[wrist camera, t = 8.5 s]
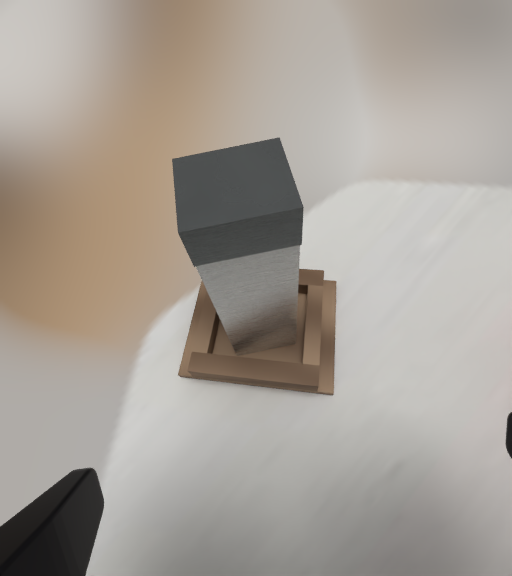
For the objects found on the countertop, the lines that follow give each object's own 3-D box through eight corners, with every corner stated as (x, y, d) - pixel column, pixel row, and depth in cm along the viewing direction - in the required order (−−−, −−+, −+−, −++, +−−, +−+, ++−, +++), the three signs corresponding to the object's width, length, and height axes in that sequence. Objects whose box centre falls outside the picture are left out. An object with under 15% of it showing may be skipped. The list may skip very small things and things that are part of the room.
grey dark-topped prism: (296, 344, 22) (303, 207, 11) (236, 357, 22) (178, 232, 10) (284, 297, 24) (279, 137, 12) (228, 309, 24) (172, 159, 12)
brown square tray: (332, 394, 21) (336, 388, 19) (180, 376, 22) (171, 369, 20) (335, 284, 24) (338, 271, 23) (205, 275, 26) (199, 262, 24)
